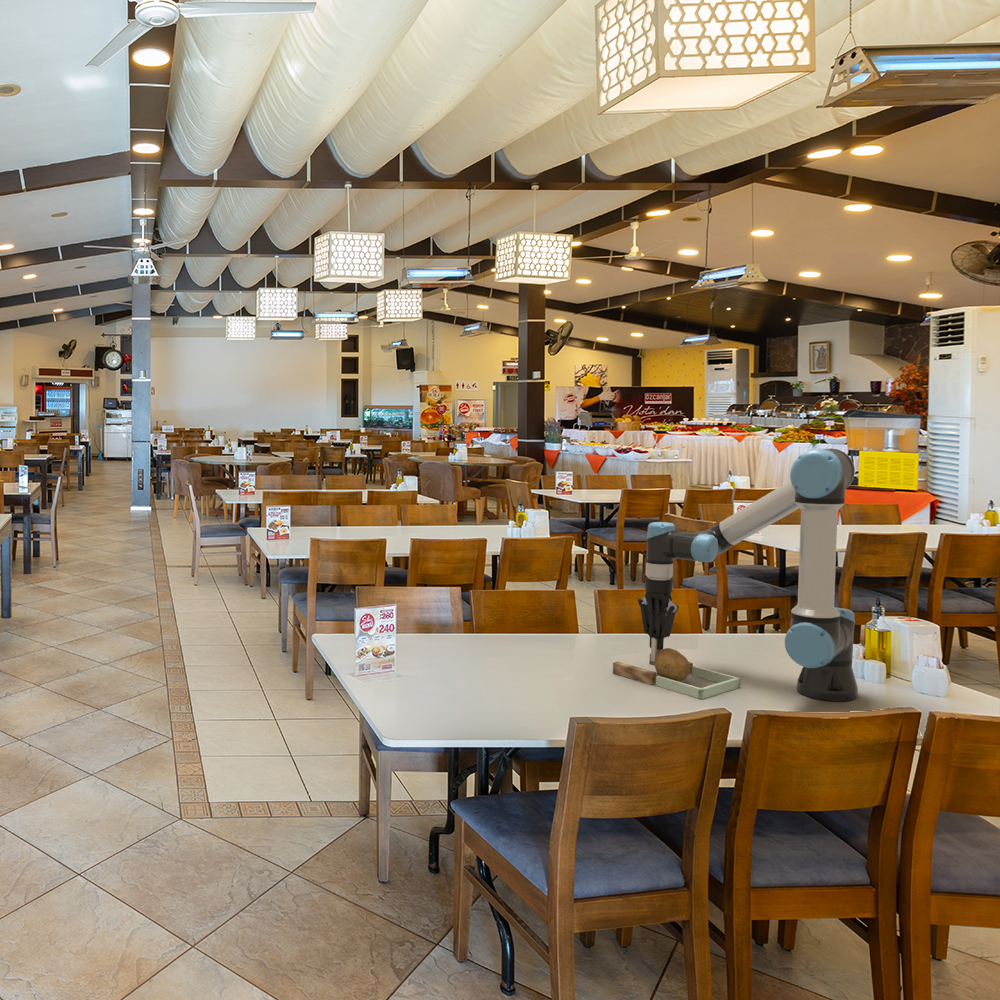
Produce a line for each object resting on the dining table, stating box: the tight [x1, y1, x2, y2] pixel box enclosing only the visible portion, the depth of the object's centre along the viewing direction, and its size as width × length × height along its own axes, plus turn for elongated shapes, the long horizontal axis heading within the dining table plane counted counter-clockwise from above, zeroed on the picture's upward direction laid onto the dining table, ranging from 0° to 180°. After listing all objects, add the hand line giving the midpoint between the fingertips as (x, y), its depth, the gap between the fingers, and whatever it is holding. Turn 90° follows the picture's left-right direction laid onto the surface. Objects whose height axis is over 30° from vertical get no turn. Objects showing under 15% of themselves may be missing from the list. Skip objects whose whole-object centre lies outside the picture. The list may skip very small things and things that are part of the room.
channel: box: [612, 653, 694, 686], centre depth 246 cm, size 14×18×3 cm
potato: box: [654, 647, 690, 682], centre depth 239 cm, size 10×14×8 cm
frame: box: [655, 665, 741, 700], centre depth 235 cm, size 15×17×2 cm
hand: (655, 660), depth 245 cm, fingers closed
